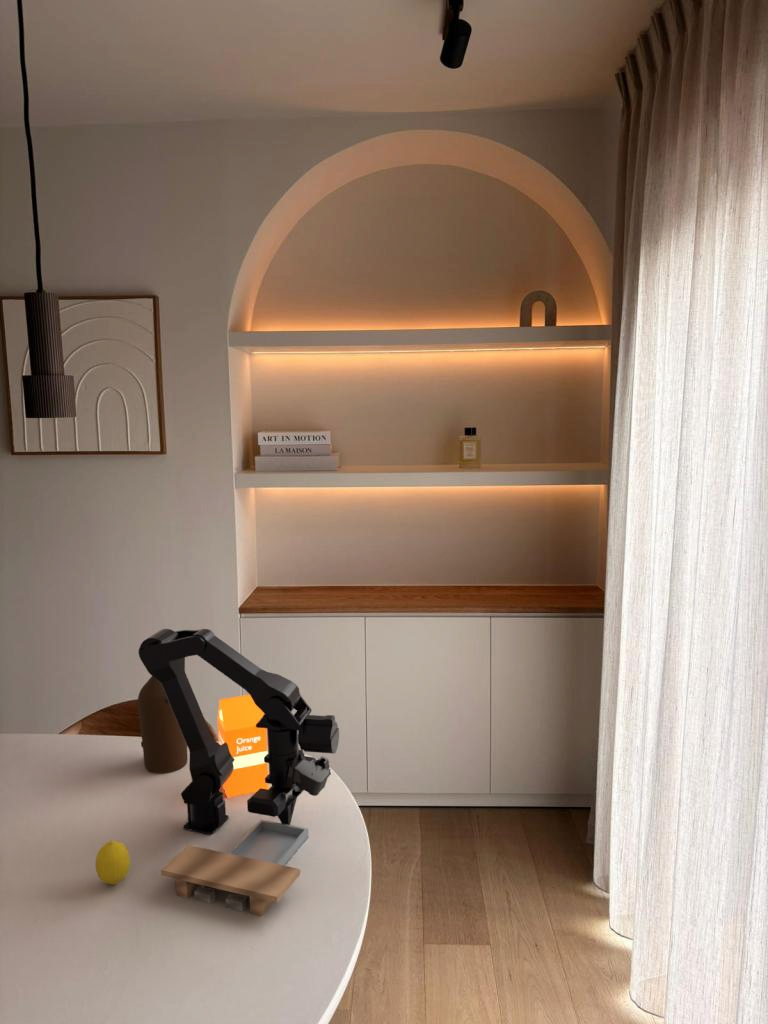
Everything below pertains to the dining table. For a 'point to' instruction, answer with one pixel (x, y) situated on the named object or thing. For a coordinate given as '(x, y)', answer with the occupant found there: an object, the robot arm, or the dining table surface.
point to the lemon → (112, 862)
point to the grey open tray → (271, 842)
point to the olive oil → (160, 731)
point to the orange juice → (243, 744)
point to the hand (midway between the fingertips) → (286, 825)
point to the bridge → (229, 878)
